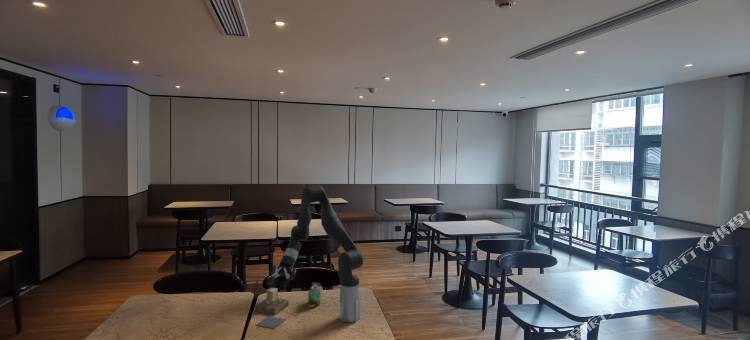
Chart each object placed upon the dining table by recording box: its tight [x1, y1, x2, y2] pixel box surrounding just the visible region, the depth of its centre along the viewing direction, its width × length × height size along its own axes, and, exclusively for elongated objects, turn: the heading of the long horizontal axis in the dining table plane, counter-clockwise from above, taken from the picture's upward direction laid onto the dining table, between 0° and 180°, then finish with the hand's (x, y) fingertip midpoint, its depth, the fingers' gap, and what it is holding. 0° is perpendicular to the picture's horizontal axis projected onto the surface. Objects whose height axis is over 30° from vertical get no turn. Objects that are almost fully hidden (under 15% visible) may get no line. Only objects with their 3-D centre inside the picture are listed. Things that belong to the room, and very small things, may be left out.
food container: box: [307, 282, 323, 309], centre depth 201 cm, size 12×6×10 cm, turn 179°
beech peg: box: [265, 287, 279, 306], centre depth 196 cm, size 4×4×10 cm
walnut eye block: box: [254, 297, 289, 315], centre depth 196 cm, size 12×12×3 cm
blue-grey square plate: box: [255, 315, 287, 330], centre depth 180 cm, size 10×10×1 cm
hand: (277, 285), depth 200 cm, fingers open, 8 cm apart
